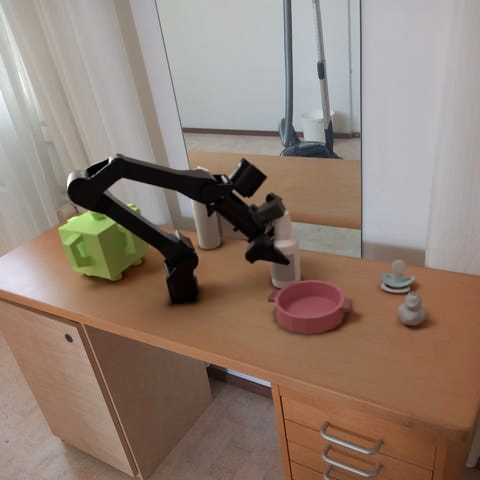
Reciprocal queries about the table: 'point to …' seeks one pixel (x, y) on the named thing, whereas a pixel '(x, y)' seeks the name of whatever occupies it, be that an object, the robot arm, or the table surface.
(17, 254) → the table surface
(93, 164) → the robot arm
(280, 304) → the pot
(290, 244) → the spray bottle
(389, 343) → the table surface
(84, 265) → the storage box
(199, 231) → the paper towel roll
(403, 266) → the pacifier
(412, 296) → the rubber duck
